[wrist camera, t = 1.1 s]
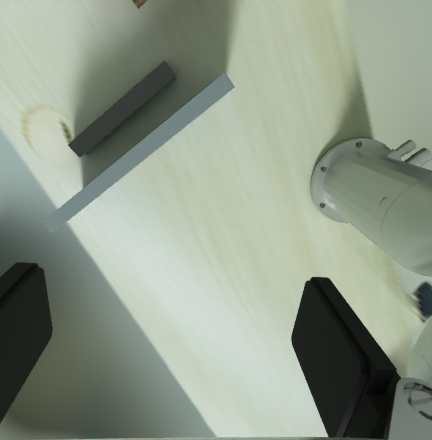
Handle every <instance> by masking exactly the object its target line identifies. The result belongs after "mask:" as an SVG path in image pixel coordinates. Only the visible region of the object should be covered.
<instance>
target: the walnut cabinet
mask: <svg viewBox="0 0 432 440" xmlns="http://www.w3.org/2000/svg"><path fill="white" fill-rule="evenodd" d="M146 1H147V0H133V2H134V3H135V5H136V6H137V7H138V9H139V8H140V7H141V6H142V5H143V4H144V3H145V2H146Z"/></svg>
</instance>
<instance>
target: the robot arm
mask: <svg viewBox="0 0 432 440" xmlns="http://www.w3.org/2000/svg"><path fill="white" fill-rule="evenodd" d="M356 143H357V145H356ZM355 145H356V146H355ZM415 148H416V144H415V142H413V141H412V140H408V141H407V142H406V143H404V144H402V145H401V146H400V147H399V148H397V149H396V150H394V149H392V150H390V149H389V148H388V147H387V146H386V145H385V144H383V143H380V142H379V141H376V140H373V139H367V138H354V139H350V140H346V141H344V142H342V143H339V144H337V145H336V146H334V147H333V148H331V149H330V150H329V151H328V152H327V153H326V154H325V155H324V156H323V157H322V158H321V160H320V161H319V162H318V164H317V166H316V168H315V170H314V172H313V175H312V178H311V186H310V189H311V196H312V200H313V202H314V204H315V206H316V208H317V209H318V210H319V211H320V212H321V213H322V214H323V215H324V216H325V217H327V218H329V219H331V220H333V221H336V222H340V223H350V224H351V225H353V226H354V227H355V228H356V229H357V230H359V231H360V232H361V233H362V234H363V235H365V236H366V237H367V238H368V239H369V240H371V241H372V242H373V243H374V244H375V245H377V246H378V247H379V248H380V249H381V250H383V251H384V252H385V253H386V254H387V255H388V256H390V257H391V258H392V259H394V260H395V261H396V262H397V263H398V264H400V265H401V266H403V267H404V268H406V269H408V270H410V271H412V272H414V273H418V274H421V275H424V276H431V277H432V170H429V169H425V168H422V167H421V166H423V165H424V164H426V163H427V162H429V161H430V160H432V153H431V152H430V151H429V150H428V149H426V148H422V149H421V150H419V151H418V152H416V153H415V154H413V155H412V156H411V157H410V158H408V159H407V160H405V161H400V160H401V157H402V156H404V155H405V154H407V153H409V152H411V151H412V150H414V149H415ZM322 166H323V168H322V169H321V167H322ZM320 204H321V205H320ZM51 336H52V322H51V315H50V309H49V302H48V295H47V289H46V281H45V275H44V270H43V269H42V268H39V266H38V264H36V263H22V262H18V263H15V264H14V265H13V266H12V267H11V268H10V269H9V270H8V271H7V272H5V274H3V275H2V276H1V277H0V423H1V421H2V420H3V418H4V416H5V415H6V413H7V411H8V409H9V408H10V406H11V404H12V403H13V401H14V399H15V398H16V396H17V394H18V392H19V391H20V389H21V388H22V386H23V384H24V383H25V381H26V379H27V377H28V376H29V374H30V372H31V371H32V369H33V367H34V366H35V364H36V362H37V361H38V359H39V357H40V355H41V354H42V352H43V350H44V349H45V347H46V345H47V344H48V342H49V340H50V338H51ZM291 340H292V345H293V348H294V351H295V353H296V356H297V358H298V361H299V363H300V366H301V368H302V371H303V373H304V376H305V379H306V381H307V384H308V386H309V389H310V391H311V394H312V396H313V399H314V401H315V404H316V406H317V409H318V411H319V414H320V417H321V419H322V422H323V424H324V427H325V429H326V432H327V434H328V436H329V437H225V438H128V439H127V438H125V439H58V440H432V316H431V318H430V319H429V321H428V323H427V324H426V326H425V328H424V329H423V331H422V333H421V334H420V336H419V339H418V340H417V342H416V344H415V345H414V347H413V349H412V351H411V353H410V356H409V360H408V364H407V374H408V378H402V379H401V377H400V376H399V375H398V373H397V372H396V370H397V369H396V368H395V366H394V365H393V364H392V362H391V361H390V360H389V358H388V357H387V356H386V354H385V353H384V351H383V350H382V349H381V347H380V346H379V345H378V343H377V342H376V341H375V339H374V338H373V337H372V335H371V334H370V333H369V331H368V330H367V329H366V327H365V326H364V325H363V323H362V322H361V321H360V319H359V318H358V316H357V315H356V314H355V312H354V311H353V310H352V308H351V307H350V306H349V304H348V303H347V302H346V300H345V299H344V298H343V296H342V295H341V294H340V292H339V291H338V290H337V288H336V287H335V286H334V284H333V283H332V281H331V280H330V279H329V278H326V277H312V278H311V279H310V281H307V282H306V283H305V287H304V291H303V294H302V298H301V302H300V306H299V310H298V313H297V317H296V321H295V325H294V328H293V332H292V338H291Z"/></svg>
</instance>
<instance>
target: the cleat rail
mask: <svg viewBox="0 0 432 440" xmlns="http://www.w3.org/2000/svg"><path fill="white" fill-rule="evenodd" d="M175 78H177V77H176V76H175V74H174V73H173V72H172V70H171V69H170V67H169V66H168V65H167V63H166V62H165V61H163V62H162V63H161V64H160V65H159V66H158V67H157V68H155V69H154V70H153V71H152V72H151V73H150V74H149V75H147V76H146V77H145V78H144V79H143V80H142V81H141V82H139V83H138V84H137V85H136V86H135V87H134V88H133V89H131V90H130V91H129V92H128V93H127V94H126V95H125V96H123V97H122V98H121V99H120V100H119V101H118V102H117V103H115V104H114V105H113V106H112V107H111V108H110V109H108V110H107V111H106V112H105V113H104V114H103V115H102V116H100V117H99V118H98V119H97V120H96V121H95V122H94V123H92V124H91V125H90V126H89V127H88V128H87V129H86V130H84V131H83V132H82V133H81V134H80V135H79V136H78V137H76V138H75V139H74V140H73V141H72V142H71V143H70V144H68V146H69V147H70V148H71V149H72V150H73V151H74V152H75V153H76V154H77V155H78V156H79V157H82V156H84V155H86V154H87V153H88V152H89V151H91V150H92V149H93V148H94V147H95V146H97V145H98V144H99V143H100V142H101V141H102V140H104V139H105V138H106V137H107V136H108V135H109V134H111V133H112V132H113V131H114V130H115V129H117V128H118V127H119V126H120V125H121V124H122V123H124V122H125V121H126V120H127V119H128V118H129V117H131V116H132V115H133V114H134V113H135V112H137V111H138V110H139V109H140V108H141V107H142V106H144V105H145V104H146V103H147V102H148V101H149V100H151V99H152V98H153V97H154V96H155V95H157V94H158V93H159V92H160V91H161V90H162V89H164V88H165V87H166V86H167V85H168V84H169V83H171V82H172V81H173V80H174V79H175Z"/></svg>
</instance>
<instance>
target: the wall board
mask: <svg viewBox="0 0 432 440" xmlns="http://www.w3.org/2000/svg"><path fill="white" fill-rule="evenodd" d="M233 88H234V85H233V84H232V82H231V80H230V79H229V77H228V76H227V74H226V73H223V74H222V75H221V76H220V77H219V78H217V79H216V80H215V81H214V82H212V83H211V84H210V85H209V86H208V87H206V88H205V89H204V90H203V91H201V92H200V93H199V94H198V95H197V96H195V97H194V98H193V99H192V100H191V101H189V102H188V103H187V104H186V105H184V106H183V107H182V108H181V109H180V110H178V111H177V112H176V113H175V114H173V115H172V116H171V117H170V118H169V119H167V120H166V121H165V122H164V123H162V124H161V125H160V126H159V127H158V128H156V129H155V130H154V131H153V132H151V133H150V134H149V135H148V136H147V137H145V138H144V139H143V140H142V141H141V142H139V143H138V144H137V145H136V146H134V147H133V148H132V149H131V150H130V151H128V152H127V153H126V154H125V155H123V156H122V157H121V158H120V159H119V160H117V161H116V162H115V163H114V164H112V165H111V166H110V167H109V168H108V169H106V170H105V171H104V172H103V173H101V174H100V175H99V176H98V177H97V178H95V179H94V180H93V181H92V182H90V183H89V184H88V185H87V186H86V187H84V188H83V189H82V190H81V191H80V192H78V193H77V194H76V195H75V196H73V197H72V198H71V199H70V200H69V201H67V202H66V203H65V204H64V205H62V206H61V207H60V208H59V209H58V210H56V211H55V212H54V213H53V214H52V215H50V216H49V217H48V218H47V219H45V220H44V221H43V222H42V223H41V224H42V225H43V226H44V227H45V228H46V229H47V230H49V232H51V233H53V232H54V231H56V230H57V229H58V228H59V227H61V226H62V225H63V224H64V223H66V222H67V221H68V220H69V219H71V218H72V217H73V216H74V215H76V214H77V213H78V212H79V211H81V210H82V209H83V208H84V207H86V206H87V205H88V204H89V203H91V202H92V201H93V200H94V199H96V198H97V197H98V196H99V195H101V194H102V193H103V192H104V191H106V190H107V189H108V188H109V187H111V186H112V185H113V184H114V183H116V182H117V181H118V180H119V179H121V178H122V177H123V176H124V175H126V174H127V173H128V172H129V171H131V170H132V169H133V168H134V167H136V166H137V165H138V164H139V163H141V162H142V161H143V160H144V159H146V158H147V157H148V156H149V155H151V154H152V153H153V152H154V151H156V150H157V149H158V148H159V147H161V146H162V145H163V144H164V143H166V142H167V141H168V140H169V139H171V138H172V137H173V136H174V135H176V134H177V133H178V132H179V131H181V130H182V129H183V128H184V127H186V126H187V125H188V124H189V123H190V122H192V121H193V120H194V119H195V118H197V117H198V116H199V115H200V114H202V113H203V112H204V111H205V110H207V109H208V108H209V107H210V106H212V105H213V104H214V103H215V102H217V101H218V100H219V99H220V98H222V97H223V96H224V95H225V94H227V93H228V92H229V91H230V90H232V89H233Z"/></svg>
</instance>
